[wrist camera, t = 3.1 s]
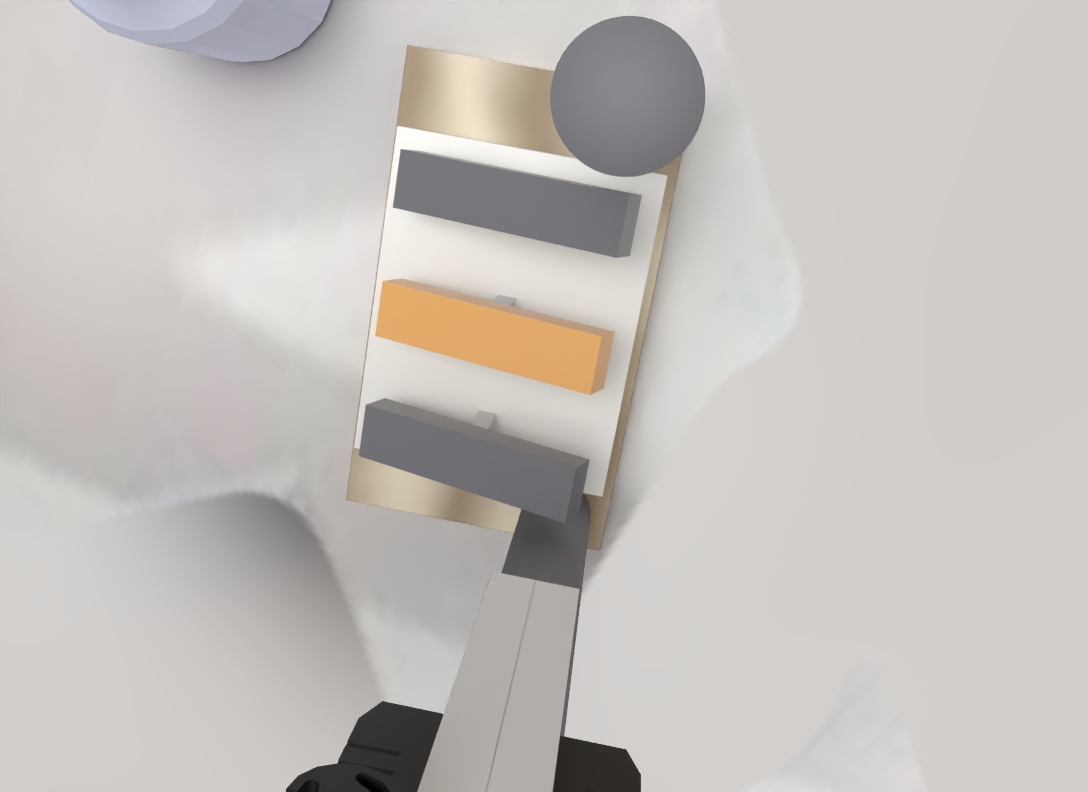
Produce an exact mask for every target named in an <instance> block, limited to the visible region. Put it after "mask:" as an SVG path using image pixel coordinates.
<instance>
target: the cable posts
mask: <svg viewBox="0 0 1088 792" xmlns="http://www.w3.org/2000/svg"><path fill="white" fill-rule="evenodd" d="M704 105H705V85H704V78H703V74H702V70H701V67H700V65H699V62H698V60H697V58H696V56H695V54H694V53H693V51H692V49H691V48H690V47H689V45H688V44H687V43H686V42H685V41H684V40H683V39H682V37H681V36H680V35H678V34H677V33H676V32H675V31H673V30H672V29H671V28H669V27H667V26H665V25H664V24H662V23H659V22H657V21H655V20H652V19H648V18H644V17H636V16H621V17H616V18H611V19H607V20H604V21H601V22H599V23H597V24H595V25H593V26H591V27H590V28H588V29H586V30H585V31H583V32H582V33H581V34H580V35H579V36H578V37H576V38H575V39H574V40H573V41H572V43H571V44H570V45H569V46H568V47H567V49H566V50H565V52H564V53H563V54H562V56H561V58H560V60H559V62H558V64H557V66H556V69H555V72H554V75H553V79H552V83H551V91H550V106H551V113H552V118H553V122H554V125H555V128H556V130H557V132H558V135H559V136H560V138H561V140H562V142H563V143H564V145H565V146H566V147H567V149H568V150H569V151H570V152H571V153H572V154H573V155H574V156H575V157H576V158H577V159H578V160H579V161H581V162H582V163H583V164H585V165H586V166H588V167H590V168H591V169H593V170H596V171H598V172H600V173H603V174H607V175H611V176H618V177H634V176H641V175H645V174H648V173H652V172H654V171H656V170H659V169H661V168H663V167H664V166H666V165H668V164H669V163H671V162H672V161H673V160H674V159H676V158H677V157H678V156H679V155H680V154H681V153H682V152H683V151H684V150H685V149H686V147H687V146H688V145H689V143H690V142H691V141H692V139H693V137H694V136H695V134H696V132H697V130H698V127H699V125H700V122H701V119H702V115H703V112H704ZM590 516H591V511H590V505H589V502H588V500H587V498H586V496H585V495H584V494H583V496H582V501H581V506H580V511H579V513H578V514H577V515H575V516H574V517H573V518H572V519H570V520H569V521H568V522H566V523H563V522H560V521H557V520H554V519H551V518H548V517H544V516H541V515H538V514H535V513H532V512H529V511H526V510H523V509H521V512H520V515H519V519H518V522H517V525H516V528H515V531H514V535H513V538H512V541H511V544H510V547H509V551H508V554H507V557H506V560H505V564H504V567H503V570H502V573H503V574H508V575H513V576H518V577H523V578H528V579H533V580H538V581H542V582H547V583H552V584H557V585H562V586H567V587H572V588H577V589H579V595H578V603H577V611H576V618H575V626H574V633H573V641H572V648H571V656H570V663H569V671H568V678H567V686H566V694H565V701H564V709H563V716H562V724H561V731H560V736H564V732H565V724H566V715H567V707H568V698H569V690H570V682H571V674H572V666H573V657H574V649H575V641H576V632H577V624H578V616H579V607H580V599H581V591H582V582H583V574H584V566H585V558H586V549H587V541H588V533H589V524H590Z"/></svg>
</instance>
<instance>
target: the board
mask: <svg viewBox="0 0 1088 792" xmlns="http://www.w3.org/2000/svg"><path fill="white" fill-rule="evenodd" d="M553 75H554V71H548V70H543V69H537V68H532V67H526V66H520V65H515V64H509V63H504V62H498V61H493V60H487V59H482V58H476V57H471V56H465V55H459V54H454V53H448V52H443V51H437V50H432V49H426V48H421V47H415V46H409V45H407V51H406V58H405V66H404V73H403V81H402V88H401V96H400V103H399V110H398V118H397V125H396V132H397V126H405V127H412V128H417V129H423V130H428V131H434V132H439V133H445V134H450V135H456V136H461V137H466V138H472V139H477V140H483V141H488V142H494V143H499V144H505V145H510V146H515V147H521V148H526V149H532V150H537V151H543V152H548V153H554V154H559V155H564V156H570V157H575V156H574V155H573V154H572V153H571V152H570V151H569V150H568V149H567V147H566V146H565V145H564V143H563V142H562V140H561V138H560V136H559V135H558V132H557V130H556V128H555V125H554V122H553V118H552V113H551V106H550V91H551V83H552V79H553ZM395 140H396V133H395ZM395 140H394V147H395ZM394 147H393V154H394ZM681 155H682V153H681V154H680V155H679V156H678V157H677V158H676V159H674V160H673V161H672V162H671V163H669V164H668V165H666V166H664V167H663V168H661V169H659V170H656V171H654V172H657V173H662V174H667V175H668V176H667V181H666V186H665V191H664V196H663V201H662V206H661V210H660V215H659V220H658V225H657V230H656V235H655V240H654V245H653V250H652V255H651V260H650V265H649V270H648V275H647V279H646V284H645V289H644V294H643V299H642V304H641V309H640V314H639V319H638V324H637V329H636V334H635V339H634V343H633V348H632V353H631V358H630V363H629V368H628V373H627V378H626V383H625V388H624V393H623V398H622V403H621V407H620V412H619V417H618V422H617V427H616V432H615V437H614V442H613V447H612V452H611V457H610V462H609V467H608V471H607V476H606V481H605V486H604V491H603V496H602V497H601V496H596V495H591V494H586V493H583V494H584V495H585V496H586V498H587V500H588V502H589V505H590V511H591V516H590V524H589V533H588V541H587V548H591V549H596V550H600V549H601V544H602V540H603V535H604V530H605V525H606V520H607V515H608V510H609V505H610V501H611V496H612V491H613V486H614V481H615V476H616V471H617V467H618V462H619V457H620V452H621V447H622V442H623V437H624V432H625V428H626V423H627V418H628V413H629V408H630V403H631V398H632V394H633V389H634V384H635V379H636V374H637V369H638V364H639V359H640V355H641V350H642V345H643V340H644V335H645V330H646V325H647V321H648V316H649V311H650V306H651V301H652V296H653V291H654V286H655V282H656V277H657V272H658V267H659V262H660V257H661V252H662V248H663V243H664V238H665V233H666V228H667V223H668V218H669V213H670V209H671V204H672V199H673V194H674V189H675V184H676V179H677V175H678V170H679V165H680V160H681ZM575 158H576V157H575ZM392 162H393V155H392ZM392 162H391V169H392ZM390 177H391V170H390ZM390 177H389V184H390ZM388 191H389V185H388ZM387 199H388V192H387ZM387 199H386V206H387ZM385 214H386V207H385ZM385 214H384V221H385ZM383 228H384V222H383ZM382 236H383V229H382ZM382 236H381V243H382ZM380 251H381V244H380ZM380 251H379V258H380ZM378 265H379V259H378ZM377 273H378V266H377ZM376 280H377V274H376ZM375 288H376V281H375ZM375 288H374V295H375ZM373 303H374V296H373ZM373 303H372V310H373ZM371 317H372V311H371ZM370 325H371V318H370ZM369 332H370V326H369ZM368 340H369V333H368ZM368 340H367V347H368ZM366 354H367V348H366ZM365 362H366V355H365ZM364 369H365V363H364ZM363 377H364V370H363ZM363 377H362V384H363ZM361 391H362V385H361ZM360 399H361V392H360ZM359 406H360V400H359ZM358 414H359V407H358ZM357 421H358V415H357ZM356 428H357V422H356ZM355 436H356V429H355ZM354 443H355V437H354ZM359 450H360V449H358V448H354V444H353V452H352V459H351V466H350V474H349V481H348V489H347V496H346V500H350V501H355V502H360V503H365V504H370V505H375V506H380V507H385V508H390V509H395V510H400V511H405V512H410V513H415V514H420V515H425V516H430V517H435V518H440V519H445V520H450V521H455V522H460V523H465V524H470V525H475V526H480V527H485V528H490V529H495V530H500V531H505V532H510V533H514V531H515V528H516V525H517V522H518V519H519V515H520V512H521V509H520V508H517V507H514V506H511V505H508V504H504V503H501V502H498V501H495V500H492V499H489V498H486V497H483V496H480V495H477V494H474V493H471V492H468V491H464V490H461V489H458V488H455V487H452V486H449V485H446V484H443V483H440V482H437V481H434V480H431V479H428V478H425V477H421V476H418V475H415V474H412V473H409V472H406V471H403V470H400V469H397V468H394V467H391V466H388V465H385V464H381V463H378V462H375V461H372V460H369V459H366V458H363V457H360V456H359Z"/></svg>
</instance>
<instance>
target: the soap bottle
mask: <svg viewBox="0 0 1088 792" xmlns="http://www.w3.org/2000/svg"><path fill="white" fill-rule="evenodd" d="M70 2H71V3H72V4H73V6H75V7H76V8H77V9H78V10H80V11H81V12H82V13H84V14H85V15H86V16H88V17H89V18H90V19H92V20H93V21H94V22H96V23H97V24H98V25H99V26H101V27H102V28H103V29H105V30H106V31H107V32H110V33H113V34H116V35H120V36H123V37H126V38H129V39H132V40H135V41H138V42H142V43H145V44H148V45H153V46H158V47H163V48H168V49H173V50H178V51H183V52H188V53H193V54H198V55H203V56H208V57H213V58H218V59H223V60H227V61H232V62H252V61H268V60H271V59H273V58H276V57H278V56H280V55H282V54H284V53H286V52H288V51H290V50H292V49H295V48H297V47H299V46H300V45H301V44H302V43H303V42H304V40H305V39H306V38H307V37H308V36H309V35H310V34H311V33H312V32H313V31H314V30H315V29H316V28H317V27H318V26H319V24H320V23H321V22H322V21H323V18H324V16H325V14H326V11H327V9H328V6H329V4H330V2H331V0H70Z"/></svg>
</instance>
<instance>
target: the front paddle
mask: <svg viewBox="0 0 1088 792" xmlns="http://www.w3.org/2000/svg"><path fill="white" fill-rule="evenodd" d="M641 198H642V195H638V194H633V193H628V192H623V191H618V190H613V189H608V188H603V187H598V186H593V185H588V184H583V183H578V182H573V181H568V180H563V179H558V178H553V177H548V176H543V175H538V174H533V173H528V172H523V171H518V170H513V169H508V168H503V167H498V166H493V165H488V164H483V163H478V162H473V161H468V160H463V159H458V158H453V157H448V156H443V155H438V154H433V153H428V152H423V151H417V150H407V149H401V150H400V157H399V165H398V172H397V179H396V187H395V194H394V201H393V208H397V209H401V210H406V211H410V212H415V213H419V214H424V215H428V216H433V217H437V218H441V219H446V220H450V221H455V222H459V223H464V224H468V225H473V226H477V227H482V228H486V229H490V230H495V231H499V232H504V233H508V234H513V235H517V236H522V237H526V238H531V239H535V240H539V241H544V242H548V243H553V244H557V245H562V246H566V247H571V248H575V249H579V250H584V251H588V252H593V253H597V254H602V255H606V256H611V257H615V258H620V257H627V256H630V253H631V248H632V243H633V238H634V233H635V228H636V223H637V218H638V213H639V208H640V203H641Z"/></svg>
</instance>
